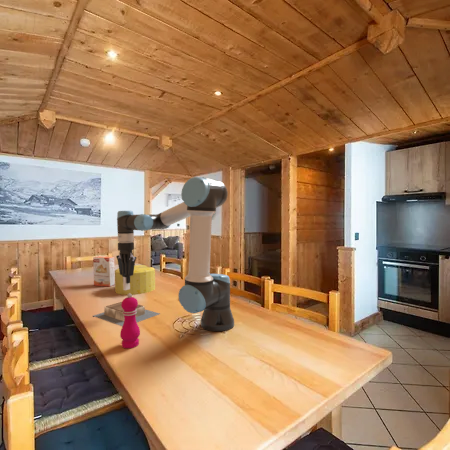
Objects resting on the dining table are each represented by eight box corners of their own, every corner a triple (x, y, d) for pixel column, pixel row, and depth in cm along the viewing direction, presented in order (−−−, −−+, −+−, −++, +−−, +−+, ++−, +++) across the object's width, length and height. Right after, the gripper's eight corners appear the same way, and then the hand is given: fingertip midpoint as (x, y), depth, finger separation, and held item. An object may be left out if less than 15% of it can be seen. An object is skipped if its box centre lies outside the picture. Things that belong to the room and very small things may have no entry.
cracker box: (93, 285, 208) (92, 257, 207) (99, 284, 213) (98, 255, 213) (109, 287, 204) (109, 257, 203) (115, 285, 209) (114, 256, 209)
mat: (160, 314, 145) (160, 313, 145) (124, 328, 128) (124, 326, 128) (128, 305, 160) (128, 304, 160) (92, 316, 143) (92, 315, 143)
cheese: (160, 285, 208) (159, 264, 207) (146, 295, 182) (146, 271, 181) (125, 284, 210) (125, 264, 210) (107, 294, 184) (107, 271, 184)
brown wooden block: (144, 305, 144) (125, 300, 153) (123, 312, 134) (104, 306, 144) (144, 314, 144) (125, 308, 153) (123, 321, 134) (104, 314, 144)
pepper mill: (133, 339, 116) (132, 289, 115) (144, 344, 111) (143, 292, 111) (116, 345, 110) (115, 293, 110) (127, 351, 106) (126, 297, 105)
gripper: (111, 242, 142) (112, 289, 143) (127, 243, 135) (128, 293, 135) (124, 240, 148) (125, 286, 149) (140, 242, 141) (141, 289, 142)
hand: (126, 289), depth 142 cm, fingers closed
